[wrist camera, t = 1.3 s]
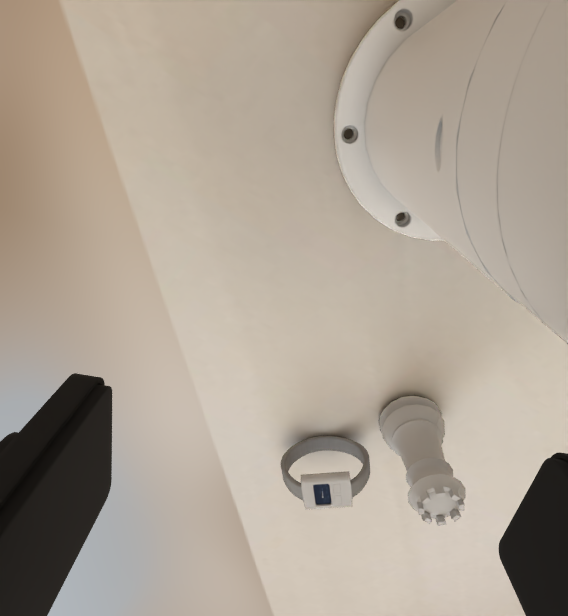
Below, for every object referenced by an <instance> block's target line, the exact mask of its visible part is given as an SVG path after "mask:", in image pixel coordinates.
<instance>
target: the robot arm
mask: <svg viewBox="0 0 568 616" xmlns="http://www.w3.org/2000/svg"><path fill="white" fill-rule="evenodd" d="M397 18H402V19H403V20H404V23H405V24H404V27H403V28H402V29H399V28H397V27H396V24H395V21H396V19H397ZM346 129H351V130H352V131H353V136H352V137H351V138H350V139H346V138H345V137H344V132H345V130H346ZM333 132H334V142H335V151H336V156H337V159H338V162H339V166H340V169H341V173H342V175H343V177H344V179H345V181H346V183H347V185H348V187H349V189H350V191H351V192H352V194H353V195H354V196H355V198H356V199H357V201H358V202H359V204H360V205H361V206H362V207H363V208H364V209H365V210H366V211H367V212H368V213H369V214H370V215H371V216H372V217H373V218H374V219H376V220H377V221H379V222H380V223H382V224H383V225H385V226H386V227H388V228H390V229H391V230H393V231H396V232H399V233H401V234H404V235H406V236H409V237H412V238H418V239H423V240H429V241H446V242H447V243H448V244H449V245H450V246H451V247H453V248H454V249H455V250H456V251H457V252H458V253H460V254H461V255H462V256H463V257H464V258H465V259H466V260H468V261H469V262H470V263H471V264H472V265H473V266H475V267H476V268H477V269H478V270H479V271H480V272H482V273H483V274H484V275H485V276H486V277H487V278H489V279H490V280H491V281H492V282H493V283H494V284H495V285H497V286H498V287H499V288H500V289H501V290H502V291H504V292H505V293H506V294H507V295H508V296H509V297H511V298H512V299H513V300H515V301H516V302H518V303H520V304H521V305H522V306H524V307H525V308H526V309H527V310H528V311H529V312H531V313H532V314H533V315H534V316H535V317H536V318H538V319H539V320H540V321H541V322H542V323H543V324H545V325H546V326H547V327H548V328H549V329H551V330H552V331H553V332H554V333H555V334H557V335H558V336H559V337H560V338H562V339H563V340H564V341H565V342H567V343H568V0H399V1H398V2H397V3H396V4H394V5H393V6H392V7H391V8H390V9H389V10H388V11H387V12H386V13H384V14H383V15H382V16H381V17H380V18H379V19H378V20H377V21H376V22H375V24H374V25H373V26H372V27H371V29H370V30H369V31H368V32H367V33H366V35H365V37H364V38H363V39H362V41H361V42H360V44H359V45H358V47H357V48H356V50H355V52H354V53H353V55H352V57H351V59H350V61H349V64H348V66H347V68H346V70H345V73H344V75H343V77H342V80H341V83H340V87H339V91H338V95H337V99H336V103H335V112H334V126H333ZM399 213H404V218H403V219H402V220H397V219H396V217H397V215H398V214H399ZM111 456H112V389H111V387H110V386H105V385H104V380H103V379H102V378H100V377H94V376H88V375H81V374H72V375H71V376H70V377H69V378H68V379H67V380H66V381H65V382H64V383H63V384H62V385H61V386H60V388H59V389H58V390H57V391H56V392H55V393H54V394H53V395H52V396H51V398H50V399H49V400H48V401H47V402H46V403H45V404H44V405H43V407H42V408H41V409H40V410H39V411H38V412H37V413H36V414H35V415H34V416H33V418H32V419H31V420H30V421H29V422H28V423H27V424H26V425H25V426H24V428H23V429H22V430H21V431H20V432H19V433H17V432H14V433H11V434H9V435H7V436H6V437H5V438H4V439H3V440H2V441H1V442H0V616H47V615H48V613H49V611H50V609H51V607H52V605H53V603H54V601H55V599H56V597H57V595H58V593H59V591H60V589H61V587H62V585H63V583H64V581H65V579H66V578H67V576H68V573H69V572H70V570H71V568H72V566H73V564H74V562H75V560H76V558H77V556H78V554H79V552H80V550H81V548H82V546H83V544H84V542H85V540H86V538H87V536H88V535H89V533H90V531H91V529H92V527H93V525H94V523H95V521H96V519H97V517H98V515H99V513H100V511H101V509H102V507H103V505H104V503H105V501H106V499H107V497H108V494H109V491H110V487H111V461H112V460H111V459H112V457H111ZM499 555H500V559H501V562H502V564H503V566H504V568H505V570H506V573H507V575H508V577H509V579H510V581H511V583H512V586H513V588H514V590H515V592H516V594H517V597H518V599H519V601H520V603H521V605H522V608H523V610H524V612H525V614H526V616H568V454H566V453H556V454H554V455H553V456H552V457H551V458H548V459H546V460H545V461H544V463H543V464H542V466H541V468H540V470H539V472H538V473H537V475H536V477H535V479H534V481H533V482H532V484H531V486H530V488H529V490H528V491H527V493H526V495H525V497H524V499H523V501H522V502H521V504H520V506H519V508H518V510H517V511H516V513H515V515H514V517H513V519H512V520H511V522H510V524H509V526H508V528H507V529H506V531H505V533H504V535H503V537H502V539H501V540H500V543H499Z"/></svg>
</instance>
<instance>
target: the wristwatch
mask: <svg viewBox="0 0 568 616" xmlns="http://www.w3.org/2000/svg"><path fill="white" fill-rule="evenodd" d="M322 450H333V451H340V452H345V453H348V454H351V455H353V456H355V457H356V458H358V459H359V460H360V461H361V462H362V463H363V467H362V469H361V471H360V472H359V474H358V475H357V476H356V477H355V478H354V479H352V480H350V475H349V472H335V473H320V474H305V475H301V483H299V482H297V481H296V480H294V479H293V478H292V477H291V476H290V474H289V473H288V471H289V468H290V467H291V465H292V464H293V463H294V462H295V461H296V460H298V459H299V458H301V457H302V456H304V455H306V454H309V453H312V452H316V451H322ZM281 469H282V474H283V480H284V482H285V484H286V486H287V488H288V489H289V490H290V491H291V492H292V494H294V495H295V496H296V497H298V498H299V499H301V500H303V502H304V505H305V509H322V508H338V507H352V497H354V496H355V495H357V494H358V493H359V492H360V491H361V490H362V489H363V488H364V486H365V485H366V483H367V481H368V479H369V475H370V462H369V455H368V452H367V450H366V449H365V448H364V447H363V446H362V445H360V444H359V443H357V442H355V441H353V440H350V439H346V438H342V437H336V436H317V437H312V438H308V439H305V440H303V441H301V442H299V443H297V444H295V445H294V446H292V447H291V448H290V449H289V450H287V452H286V453H285V454H284V455H283V457H282V460H281Z"/></svg>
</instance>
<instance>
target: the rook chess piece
mask: <svg viewBox="0 0 568 616" xmlns="http://www.w3.org/2000/svg"><path fill="white" fill-rule="evenodd" d="M379 425H380V431H381V432H382V433H383V439H384V440H385V441H386V443H387V444H388V446H389V447H390V449H392V450H393V451H395V452H396V454H397V455H399V456H401V458H402V460H403V462H404V465H405V467H406V469H407V473H406V480H407V483H408V484H409V485H410V487H411V488H410V491H409V493H408V502H409V504H410V505H411V506H412V508H413V509H414V510H416V511H418V513H419V515H421V516H422V519H423V521H425V522H427V523H429V524H430V523H431V522H432V519H431V518H435V519H436V522H437V525H438V526H439V525H447V524H446V521H445V519H444V518H445V517H448V516H450V515H451V518H452V520H453V521H456V520H458V519H459V518H460V517H461V515H460V513H459V510H461V511H464V502H463V500H464V498H465V488H464V486H463V484H462V483H461V481H459V480H458V479H456V478H454V477H453V469H452V468H451V466H450V465H449V463H447V462H446V461H445V459H444V455H443V451H442V446H441V445H442V443H443V437H444V435H445V430H444V420H443V419H442V415H441V412H440V410H439V408H438V407H437V405H436V404H435V403H433V402H432V401H430V400H429V399H427V398H423V397H418V396H405V397H400V398H398V399H396V400H394V401H392V402H391V403H390V404H389V405H388V406H387V407H386V408H385V409H384V410H383V411H382V414H381V416H380V419H379Z"/></svg>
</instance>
